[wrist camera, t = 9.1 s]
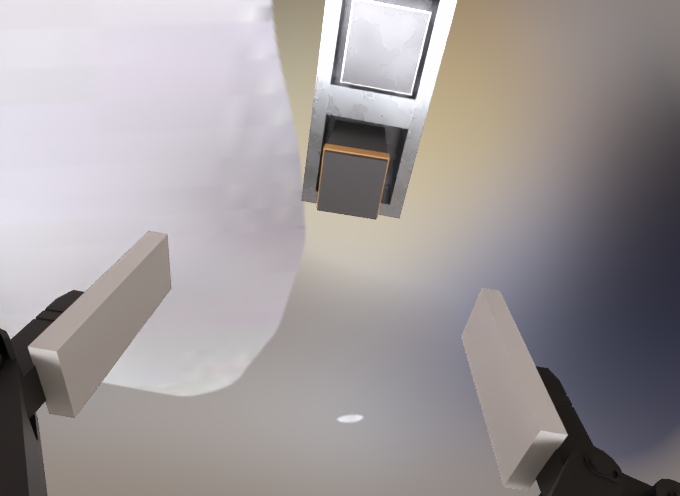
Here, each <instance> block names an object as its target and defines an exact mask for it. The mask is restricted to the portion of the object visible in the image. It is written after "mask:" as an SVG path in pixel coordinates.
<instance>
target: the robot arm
mask: <svg viewBox="0 0 680 496" xmlns="http://www.w3.org/2000/svg"><path fill="white" fill-rule="evenodd" d="M170 289H171V278H170V263H169V249H168V235H167V234H163V233H157V232H151V231H148V232H147V233H146V234H145V235H144V236H143V237H142V238H141V239H140V240H139V241H138V242H137V243H136V244H135V245H134V246H133V247H132V248H131V249H129V250H128V251H127V252H126V253H125V254H124V255H123V256H122V257H121V258H120V259H119V260H118V261H117V262H116V263H115V264H114V265H113V266H112V267H111V268H110V269H109V270H107V271H106V272H105V273H104V274H103V275H102V276H101V277H100V278H99V279H98V280H97V281H96V282H95V283H94V284H93V285H92V286H91V287H90V288H89V289H88V290H87V291H85V292H82V291H76V290H73V291H71V292H69V293H67V294H65V295H63V296H61V297H59V298H57V299H56V300H55V301H53V302H52V303H51V304H50V305H49V306H48V307H47V308H46V310H45V311H42V312H41V313H40V314H39V315H38V316H37V317H36V319H33V320H32V321H31V322H30V323H29V324H28V325H26V326H25V327H24V328H23V329H22V330H21V331H20V332H19V333H17V334H16V335H15V336H14V337H13V338H12V339H11V340H10V338H9V336H8V334H7V332H6V331H4V330H2V329H0V496H47V488H46V481H45V472H44V464H43V457H42V448H41V440H40V432H39V424H38V418H37V415H36V411H37V410H38V409H39V408H40V406H41V405H42V404H43V403H44V402H46V405H47V408H48V411H49V413H50V414H54V415H60V416H66V417H73V418H75V417H76V416H77V415H78V413H79V412H80V410H81V409H82V408H83V406H84V405H85V404H86V402H87V401H88V400H89V398H90V397H91V396H92V394H93V393H94V392H95V390H96V389H97V388H98V386H99V385H100V384H101V382H102V381H103V380H104V378H105V377H106V376H107V374H108V373H109V371H110V370H111V369H112V367H113V366H114V365H115V363H116V362H117V361H118V359H119V358H120V357H121V355H122V354H123V353H124V351H125V350H126V349H127V347H128V346H129V345H130V343H131V342H132V340H133V339H134V338H135V336H136V335H137V334H138V332H139V331H140V330H141V328H142V327H143V326H144V324H145V323H146V322H147V320H148V319H149V318H150V316H151V315H152V314H153V312H154V311H155V309H156V308H157V307H158V305H159V304H160V303H161V301H162V300H163V299H164V297H165V296H166V295H167V293H168V292H169V291H170ZM461 338H462V342H463V345H464V348H465V352H466V356H467V359H468V363H469V366H470V370H471V373H472V377H473V380H474V384H475V387H476V391H477V394H478V398H479V401H480V405H481V408H482V412H483V415H484V419H485V422H486V426H487V430H488V433H489V437H490V440H491V444H492V447H493V450H494V454H495V458H496V461H497V465H498V468H499V472H500V475H501V479H502V482H503V486H504V487H509V488H516V489H522V490H529V488H530V487H531V486H532V484H533V483H534V482H535V480H537V483H538V486H539V488H540V491H541V493H540V495H539V496H680V483H678V482H676V481H673V480H670V479H661V480H659V481H658V482H657V483H656V484H655V485H654V486H650V485H648V484H646V483H643V482H641V481H639V480H637V479H634V478H632V477H630V476H628V475H626V474H624V473H622V471H621V469H620V467H619V466H618V465H617V464H616V462H615V461H614V460H613V459H612V458H611V457H610V456H609V455H607V454H606V453H605V452H604V451H602V450H600V449H598V448H596V447H595V446H593V444H592V442H591V440H590V438H589V436H588V434H587V432H586V431H585V429H584V426H583V425H582V423H581V421H580V419H579V417H578V415H577V413H576V411H575V409H574V408H573V407H572V403H571V402H570V400H569V398H568V396H566V392H565V390H564V388H563V386H562V384H561V382H560V381H559V380H558V379H557V377H556V376H555V375H554V374H553V373H552V372H551V371H550V370H549V369H548V368H543V367H537V366H535V364H534V362H533V360H532V358H531V356H530V354H529V352H528V350H527V348H526V345H525V343H524V341H523V339H522V337H521V335H520V333H519V331H518V329H517V326H516V324H515V322H514V320H513V318H512V316H511V314H510V312H509V309H508V307H507V305H506V303H505V301H504V299H503V297H502V295H501V293H500V291H498V290H491V289H485V288H481V291H480V293H479V296H478V298H477V300H476V303H475V305H474V307H473V310H472V312H471V315H470V317H469V320H468V322H467V324H466V327H465V329H464V331H463V334H462V336H461Z"/></svg>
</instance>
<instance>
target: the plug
mask: <svg viewBox="0 0 680 496" xmlns="http://www.w3.org/2000/svg"><path fill="white" fill-rule="evenodd" d="M389 159H390V157H389V153H387V146H386V135H385V128H384V127H378V126H372V125H365V124H359V123H353V122H347V121H340V120H336V122H335V124H334V127H333V130H332V132H331V135H330V138H329V140H328V143H327V144H326V143H325V145H324V148H323V157H322V165H321V174H320V182H319V191H318V199H317V210H319V211H326V212H333V213H338V214H345V215H352V216H357V217H364V218H370V219H376V218H377V217H378V212H379V208H380V203H381V198H382V193H383V188H384V183H385V178H386V174H387V169H388V164H389Z"/></svg>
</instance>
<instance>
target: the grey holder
mask: <svg viewBox="0 0 680 496" xmlns="http://www.w3.org/2000/svg"><path fill="white" fill-rule="evenodd" d="M456 2H457V0H326V3H325V12H324V19H323V28H322V36H321V44H320V53H319V60H318V69H317V77H316V85H315V93H314V102H313V111H312V118H311V127H310V134H309V143H308V151H307V159H306V167H305V175H304V184H303V192H302V200H301V201H306V202H312V203H317V199H318V191H319V182H320V174H321V165H322V157H323V148H324V145H325V143H326V144H327V143H328V140H329V138H330V135H331V132H332V130H333V127H334V124H335V122H336V120H340V121H347V122H353V123H359V124H365V125H372V126H378V127H384V128H385V135H386V146H387V153H389V157H390V159H389V164H388V169H387V174H386V178H385V183H384V188H383V193H382V198H381V203H380V208H379V212H378V215H384V216H389V217H395V218H400V214H401V210H402V207H403V203H404V199H405V195H406V191H407V187H408V184H409V180H410V176H411V173H412V169H413V165H414V161H415V157H416V153H417V150H418V146H419V142H420V138H421V135H422V131H423V127H424V123H425V120H426V116H427V112H428V108H429V104H430V101H431V97H432V93H433V89H434V85H435V82H436V78H437V74H438V70H439V67H440V63H441V59H442V55H443V51H444V48H445V44H446V40H447V36H448V32H449V28H450V25H451V21H452V17H453V13H454V10H455V6H456Z"/></svg>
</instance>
